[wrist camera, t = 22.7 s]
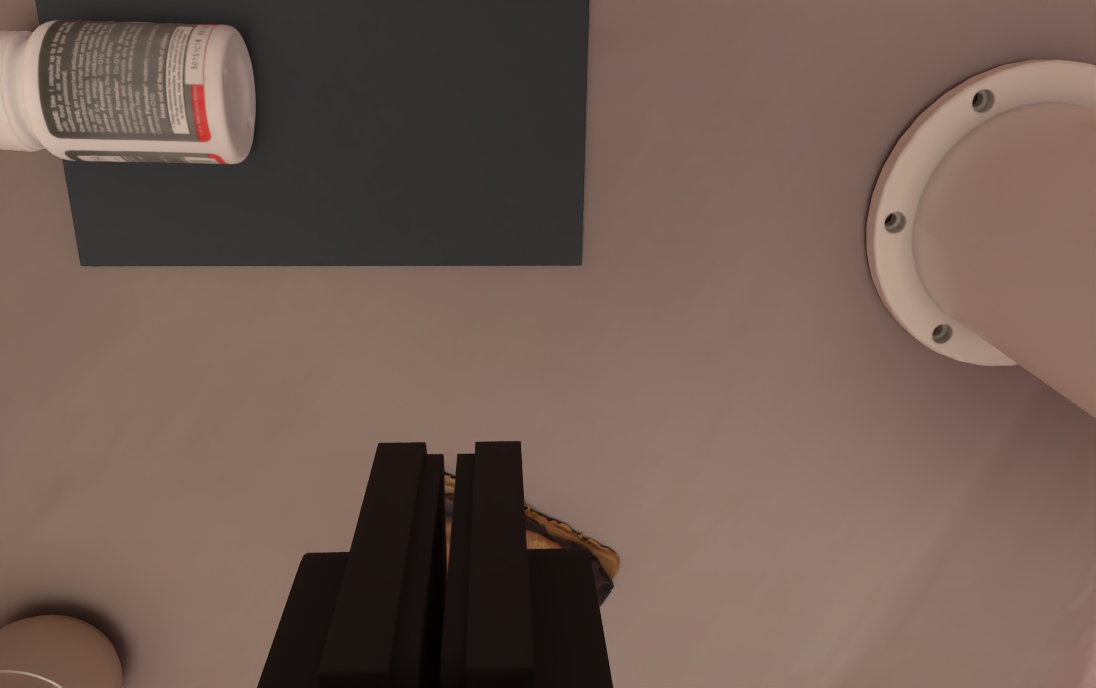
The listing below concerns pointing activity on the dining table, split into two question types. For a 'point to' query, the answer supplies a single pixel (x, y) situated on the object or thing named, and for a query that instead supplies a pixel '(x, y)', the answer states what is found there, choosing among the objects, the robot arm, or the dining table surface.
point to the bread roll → (552, 542)
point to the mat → (363, 140)
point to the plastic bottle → (57, 655)
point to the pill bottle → (128, 92)
